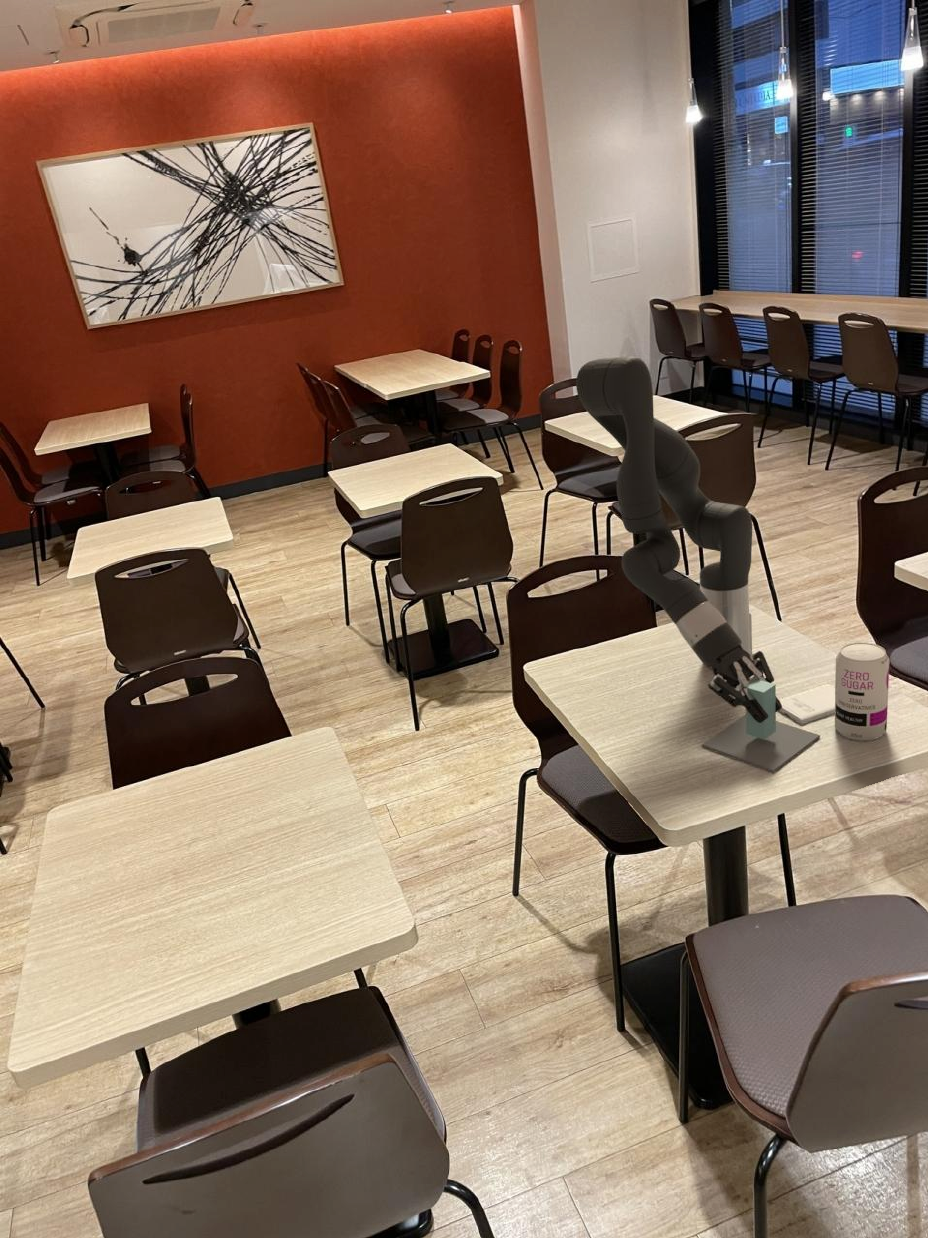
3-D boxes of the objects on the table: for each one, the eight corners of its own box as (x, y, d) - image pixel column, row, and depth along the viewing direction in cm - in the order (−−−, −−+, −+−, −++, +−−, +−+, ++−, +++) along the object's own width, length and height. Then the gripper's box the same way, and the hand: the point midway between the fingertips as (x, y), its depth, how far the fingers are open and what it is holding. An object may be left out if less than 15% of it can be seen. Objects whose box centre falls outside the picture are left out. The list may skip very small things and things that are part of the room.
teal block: (758, 725, 163) (757, 679, 160) (775, 731, 161) (775, 684, 157) (746, 733, 161) (745, 686, 158) (764, 739, 159) (763, 692, 155)
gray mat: (748, 714, 171) (748, 712, 171) (819, 737, 160) (820, 735, 160) (701, 746, 163) (701, 744, 163) (773, 772, 153) (773, 770, 152)
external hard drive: (858, 707, 169) (801, 726, 166) (827, 690, 176) (771, 708, 173) (858, 699, 168) (801, 718, 165) (827, 682, 176) (771, 700, 172)
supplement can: (877, 717, 164) (880, 639, 159) (893, 741, 157) (896, 659, 151) (829, 720, 165) (830, 643, 160) (842, 744, 158) (843, 663, 152)
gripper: (695, 637, 155) (761, 723, 151) (744, 609, 163) (808, 689, 159) (670, 658, 161) (733, 741, 157) (719, 630, 169) (780, 708, 165)
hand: (770, 714), depth 158 cm, fingers closed on teal block, 3 cm apart
